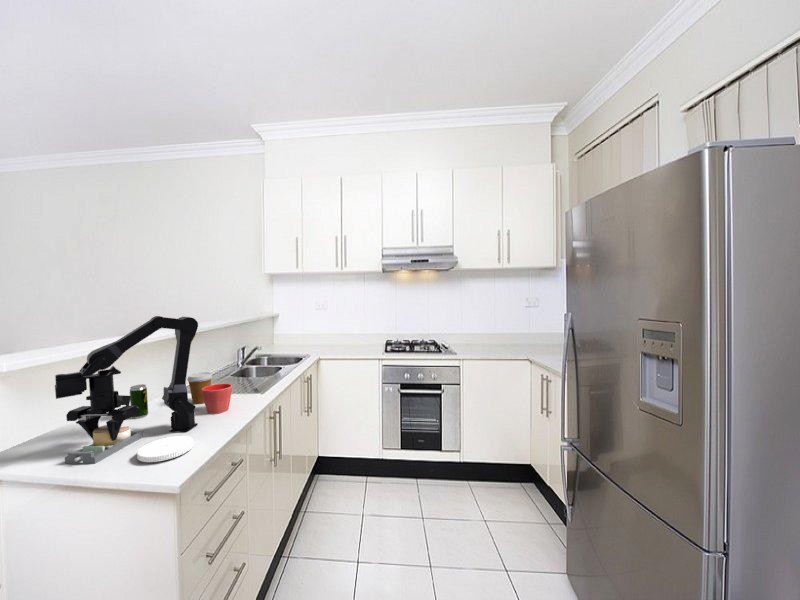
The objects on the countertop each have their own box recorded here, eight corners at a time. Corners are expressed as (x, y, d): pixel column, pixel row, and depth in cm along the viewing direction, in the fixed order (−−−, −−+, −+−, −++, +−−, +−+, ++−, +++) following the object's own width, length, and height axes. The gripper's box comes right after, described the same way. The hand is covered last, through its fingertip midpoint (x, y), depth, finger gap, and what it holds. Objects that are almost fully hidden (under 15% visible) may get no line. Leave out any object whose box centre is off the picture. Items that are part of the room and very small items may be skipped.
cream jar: (134, 437, 119) (132, 425, 118) (127, 442, 114) (126, 430, 114) (116, 439, 117) (115, 427, 117) (108, 445, 112) (107, 433, 112)
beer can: (130, 420, 135) (128, 389, 134) (131, 416, 139) (130, 385, 138) (148, 417, 137) (146, 386, 137) (148, 413, 142) (146, 383, 141)
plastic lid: (124, 464, 101) (124, 455, 101) (165, 442, 115) (164, 434, 114) (167, 467, 98) (167, 458, 98) (203, 444, 112) (203, 437, 112)
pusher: (104, 454, 106) (104, 445, 106) (86, 464, 100) (85, 455, 100) (84, 454, 106) (84, 445, 106) (65, 464, 100) (64, 455, 100)
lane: (143, 436, 119) (143, 427, 119) (94, 463, 101) (94, 453, 101) (118, 436, 119) (117, 427, 119) (65, 463, 101) (64, 453, 101)
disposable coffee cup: (205, 405, 150) (204, 377, 149) (183, 405, 150) (182, 377, 149) (217, 398, 159) (216, 371, 159) (196, 398, 159) (195, 372, 159)
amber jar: (105, 447, 106) (104, 431, 106) (88, 447, 107) (87, 431, 107) (121, 439, 112) (120, 424, 112) (104, 439, 112) (103, 424, 112)
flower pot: (212, 406, 148) (211, 383, 148) (237, 405, 148) (236, 383, 148) (196, 415, 138) (195, 390, 137) (224, 415, 137) (223, 390, 137)
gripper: (150, 382, 116) (153, 429, 117) (96, 383, 117) (99, 429, 118) (122, 393, 105) (125, 444, 106) (63, 394, 106) (66, 445, 107)
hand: (105, 440), depth 109 cm, fingers closed on amber jar, 5 cm apart
